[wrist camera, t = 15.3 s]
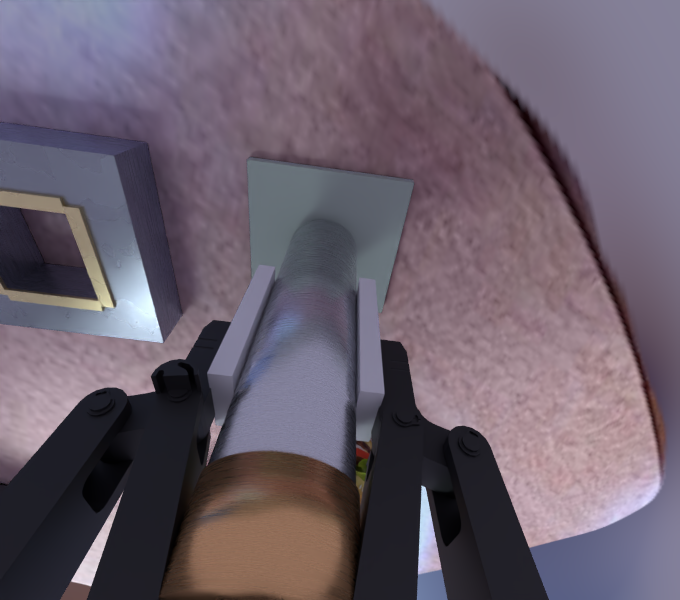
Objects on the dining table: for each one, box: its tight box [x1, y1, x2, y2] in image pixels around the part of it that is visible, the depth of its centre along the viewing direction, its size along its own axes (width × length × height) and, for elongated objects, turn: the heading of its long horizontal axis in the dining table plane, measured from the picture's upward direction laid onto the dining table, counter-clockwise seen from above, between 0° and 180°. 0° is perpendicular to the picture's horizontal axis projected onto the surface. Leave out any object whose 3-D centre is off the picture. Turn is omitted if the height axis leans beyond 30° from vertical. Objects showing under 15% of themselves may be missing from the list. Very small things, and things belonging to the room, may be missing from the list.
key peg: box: [159, 219, 360, 600], centre depth 13 cm, size 4×4×16 cm
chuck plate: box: [0, 122, 182, 343], centre depth 20 cm, size 12×12×3 cm
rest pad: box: [247, 157, 414, 313], centre depth 21 cm, size 9×9×1 cm
